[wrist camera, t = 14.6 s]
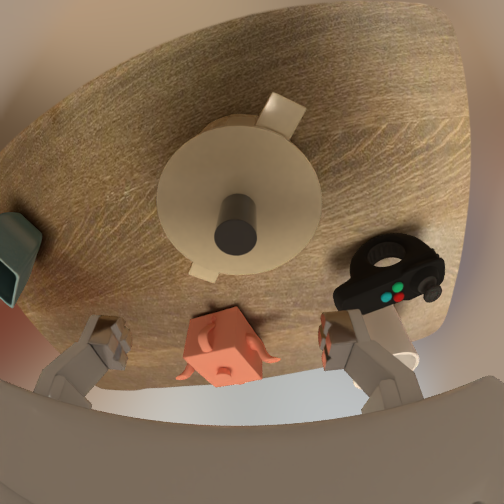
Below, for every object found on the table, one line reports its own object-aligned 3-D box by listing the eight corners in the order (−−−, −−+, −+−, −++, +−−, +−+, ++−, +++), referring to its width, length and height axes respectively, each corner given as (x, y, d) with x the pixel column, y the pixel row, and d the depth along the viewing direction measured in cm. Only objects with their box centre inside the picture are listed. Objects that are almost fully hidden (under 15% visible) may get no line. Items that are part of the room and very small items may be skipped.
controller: (416, 243, 31) (454, 298, 23) (328, 278, 34) (346, 343, 26) (413, 215, 29) (458, 268, 20) (318, 252, 32) (337, 318, 24)
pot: (166, 214, 29) (141, 263, 22) (224, 70, 21) (211, 66, 14) (256, 248, 31) (256, 304, 24) (329, 119, 23) (362, 140, 16)
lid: (145, 236, 21) (125, 274, 17) (192, 97, 15) (172, 104, 11) (273, 283, 24) (277, 325, 20) (347, 168, 18) (372, 197, 14)
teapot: (290, 338, 41) (295, 386, 34) (203, 358, 44) (197, 402, 37) (260, 284, 34) (261, 339, 28) (161, 314, 38) (147, 363, 31)
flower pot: (3, 234, 30) (-30, 270, 23) (14, 193, 26) (-28, 229, 19) (41, 268, 34) (12, 310, 26) (56, 232, 30) (19, 276, 23)
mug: (332, 304, 37) (348, 369, 28) (392, 282, 35) (421, 342, 26) (346, 345, 42) (359, 400, 34) (396, 327, 40) (416, 380, 32)
